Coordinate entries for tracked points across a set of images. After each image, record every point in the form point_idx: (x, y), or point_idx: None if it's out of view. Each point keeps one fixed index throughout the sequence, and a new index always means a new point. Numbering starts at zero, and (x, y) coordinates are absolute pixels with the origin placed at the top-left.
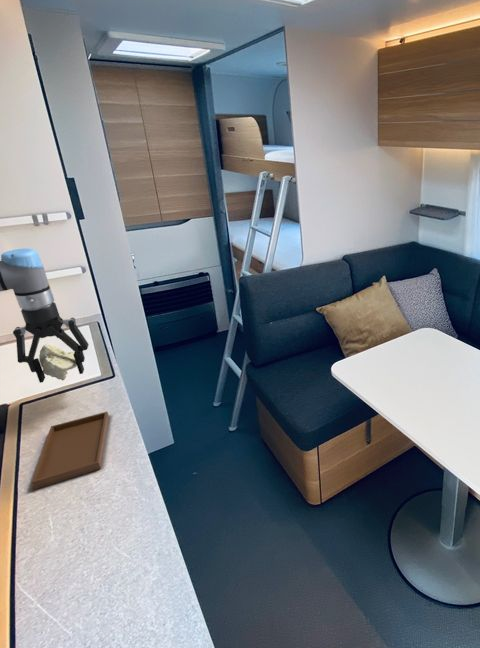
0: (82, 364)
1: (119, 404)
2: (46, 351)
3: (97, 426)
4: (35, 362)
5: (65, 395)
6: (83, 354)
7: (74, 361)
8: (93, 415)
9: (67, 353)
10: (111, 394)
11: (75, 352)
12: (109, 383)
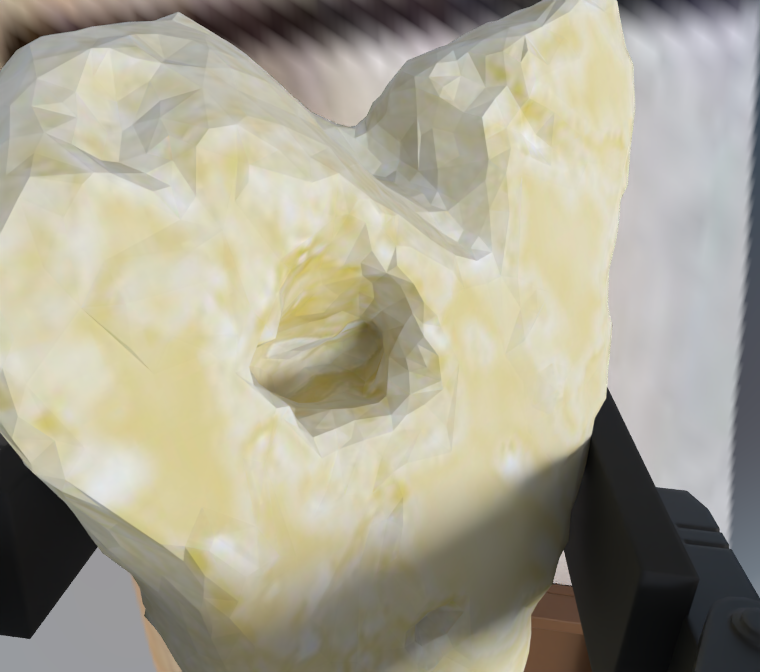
0: (616, 415)
1: (707, 492)
2: (111, 534)
3: (552, 663)
4: (24, 633)
5: (333, 109)
6: (734, 569)
7: (555, 541)
8: (548, 624)
9: (460, 282)
10: (680, 322)
11: (644, 644)
12: (698, 111)
